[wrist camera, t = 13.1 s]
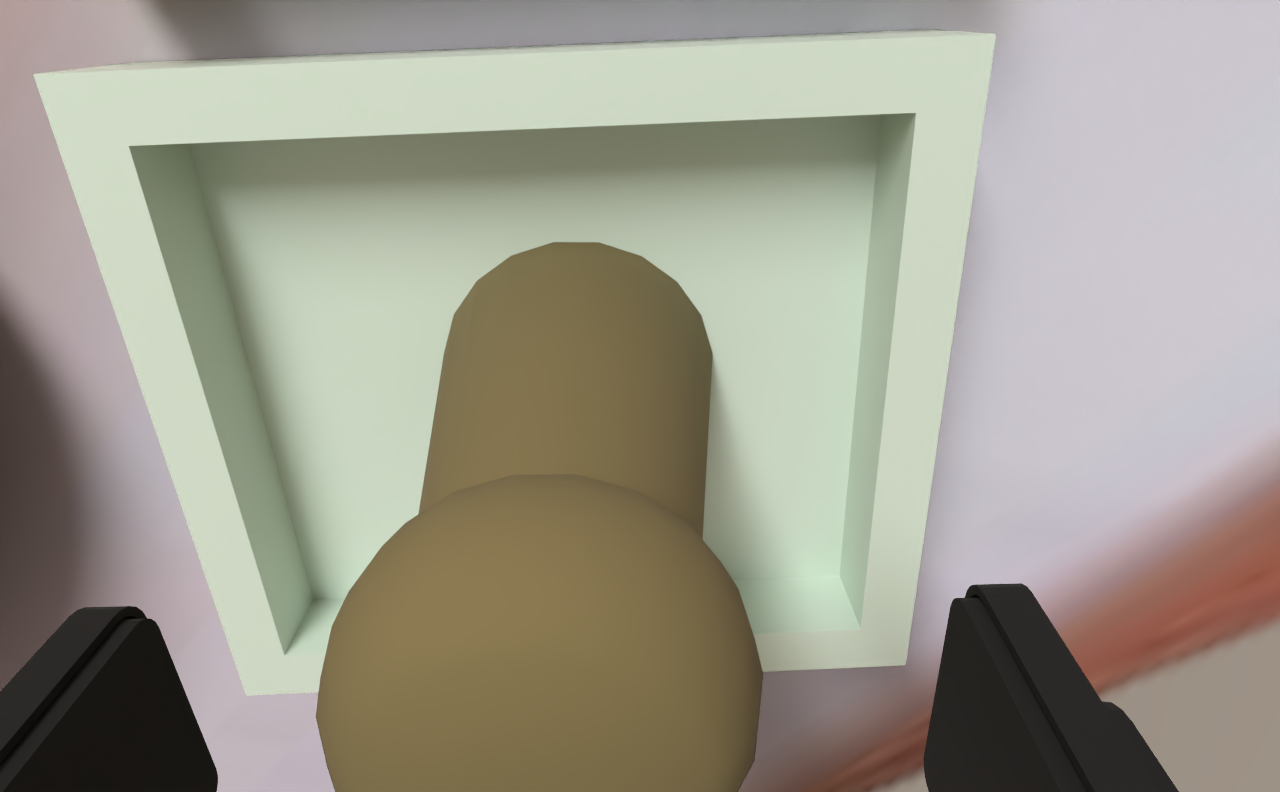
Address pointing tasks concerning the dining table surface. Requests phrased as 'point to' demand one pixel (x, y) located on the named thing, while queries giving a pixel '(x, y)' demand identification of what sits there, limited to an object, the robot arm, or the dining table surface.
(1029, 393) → the dining table surface
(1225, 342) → the dining table surface
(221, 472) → the tray
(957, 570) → the dining table surface
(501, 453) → the cork
